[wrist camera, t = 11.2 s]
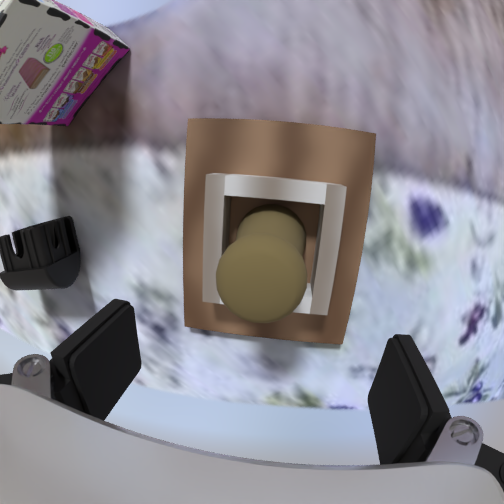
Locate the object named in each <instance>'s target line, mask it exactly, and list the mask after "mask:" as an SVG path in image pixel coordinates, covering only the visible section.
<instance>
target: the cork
mask: <svg viewBox="0 0 504 504" xmlns="http://www.w3.org/2000/svg"><path fill="white" fill-rule="evenodd" d="M305 246H306V231H305V228H304V225H303V222H302V221H301V220H300V218H299V217H298V216H297V214H296V213H294V212H293V211H291V210H290V209H289V208H287V207H284V206H281V205H278V204H264V205H261V206H258V207H255V208H254V209H252V210H251V211H250V212H248V213H247V214H246V215H245V216H244V218H243V219H242V221H241V222H240V224H239V228H238V231H237V235H236V241H235V242H234V243H232V244H231V245H229V247H228V248H227V249H226V251H225V252H224V254H223V255H222V256H221V258H220V259H219V263H218V266H217V270H216V286H217V291H218V294H219V296H220V298H221V301H222V302H223V303H224V305H225V306H226V307H227V308H228V309H229V311H230V312H232V313H233V314H235V315H236V316H238V317H239V318H241V319H243V320H247V321H250V322H253V323H271V322H274V321H278V320H281V319H283V318H285V317H286V316H288V315H289V314H291V313H292V312H293V311H294V310H295V309H296V308H297V306H298V305H299V304H300V303H301V301H302V299H303V296H304V294H305V291H306V289H307V270H306V267H305V263H304V260H303V257H302V256H303V253H304V249H305Z"/></svg>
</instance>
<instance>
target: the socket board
mask: <svg viewBox="0 0 504 504" xmlns="http://www.w3.org/2000/svg"><path fill="white" fill-rule="evenodd" d="M375 140H376V134H375V133H369V132H363V131H357V130H351V129H344V128H337V127H330V126H322V125H313V124H304V123H294V122H282V121H268V120H250V119H208V118H205V119H188V127H187V142H186V160H185V181H184V215H183V287H184V321H185V326H186V327H192V328H198V329H204V330H211V331H217V332H224V333H232V334H239V335H247V336H255V337H264V338H273V339H282V340H292V341H303V342H316V343H329V344H342V343H343V340H344V336H345V332H346V327H347V323H348V319H349V315H350V310H351V306H352V301H353V297H354V292H355V287H356V282H357V277H358V272H359V266H360V261H361V255H362V249H363V243H364V237H365V231H366V224H367V217H368V210H369V202H370V194H371V185H372V175H373V165H374V154H375ZM264 204H278V205H281V206H284V207H287V208H289V209H290V210H291V211H293V212H294V213H296V214H297V216H298V217H299V218H300V220H301V221H302V222H303V225H304V228H305V231H306V246H305V249H304V253H303V256H302V257H303V260H304V263H305V267H306V270H307V289H306V291H305V294H304V296H303V299H302V301H301V303H300V304H299V305H298V306H297V308H296V309H295V310H294V311H293V312H292V313H291V314H289V315H288V316H286V317H285V318H283V319H281V320H278V321H274V322H271V323H253V322H250V321H247V320H243V319H241V318H239V317H238V316H236V315H235V314H233V313H232V312H230V311H229V309H228V308H227V307H226V306H225V305H224V303H223V302H222V301H221V298H220V296H219V294H218V291H217V286H216V270H217V266H218V263H219V259H220V258H221V256H222V255H223V254H224V252H225V251H226V249H227V248H228V247H229V245H231V244H232V243H234V242H235V241H236V235H237V231H238V228H239V224H240V222H241V221H242V219H243V218H244V216H245V215H246V214H247V213H248V212H250V211H251V210H252V209H254V208H255V207H258V206H261V205H264Z"/></svg>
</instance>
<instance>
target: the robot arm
mask: <svg viewBox="0 0 504 504" xmlns="http://www.w3.org/2000/svg"><path fill="white" fill-rule="evenodd" d="M51 356H52V359H51V360H50V361H49V360H48V359H47V358H46V357H45V356H43V355H39V354H32V355H27V356H25V357H22V358H21V359H20V360H18V361H17V362H16V364H15V366H14V368H13V373H10V374H3V375H0V504H504V453H502V452H499V451H498V450H495V449H493V448H491V447H489V446H487V445H485V444H483V443H482V441H483V431H482V428H481V427H480V425H479V424H478V423H477V422H476V421H474V420H473V419H471V418H469V417H465V416H457V417H453V418H452V417H451V415H450V413H449V408H448V406H447V404H446V402H445V400H444V398H443V396H442V394H441V392H440V390H439V388H438V386H437V384H436V382H435V380H434V378H433V376H432V374H431V372H430V370H429V368H428V366H427V365H426V363H425V361H424V359H423V357H422V355H421V353H420V352H419V350H418V348H417V346H416V344H415V343H414V341H413V339H412V337H411V336H410V335H401V334H395V335H394V336H393V338H389V339H388V341H387V344H386V347H385V350H384V353H383V356H382V359H381V362H380V365H379V368H378V370H377V373H376V376H375V378H374V381H373V384H372V386H371V389H370V391H369V394H368V405H369V410H370V414H371V419H372V424H373V429H374V434H375V438H376V443H377V449H378V454H379V460H380V465H347V466H346V465H341V466H340V465H338V466H336V465H306V464H292V463H280V462H271V461H261V460H254V459H247V458H241V457H235V456H228V455H223V454H217V453H213V452H208V451H203V450H199V449H194V448H190V447H186V446H182V445H178V444H174V443H170V442H166V441H163V440H160V439H156V438H153V437H149V436H146V435H143V434H140V433H137V432H134V431H131V430H128V429H125V428H122V427H119V426H117V425H114V424H111V423H109V422H105V421H104V420H105V419H106V417H107V416H108V414H109V413H110V411H111V410H112V409H113V407H114V406H115V404H116V403H117V402H118V400H119V399H120V397H121V396H122V394H123V393H124V392H125V390H126V389H127V388H128V386H129V385H130V383H131V382H132V381H133V379H134V378H135V376H136V375H137V374H138V372H139V371H140V369H141V357H140V350H139V344H138V337H137V329H136V321H135V313H134V308H133V306H131V305H130V303H129V302H128V301H124V300H119V299H114V300H112V301H111V302H110V303H109V304H107V305H106V306H105V307H104V308H102V309H101V310H100V311H99V312H98V313H96V314H95V315H94V316H93V317H92V318H90V319H89V320H88V321H87V322H86V323H84V324H83V325H82V326H81V327H80V328H79V329H77V330H76V331H75V332H74V333H73V334H71V335H70V336H69V337H68V338H67V339H66V340H65V341H63V342H62V343H61V344H60V345H59V346H58V347H56V348H55V349H54V350H53V351H52V352H51Z"/></svg>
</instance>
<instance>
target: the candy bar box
mask: <svg viewBox="0 0 504 504" xmlns="http://www.w3.org/2000/svg"><path fill="white" fill-rule="evenodd" d="M129 50H130V48H129V47H128V46H127V45H126V44H125V43H124V42H123V41H122V40H121V39H119V38H118V37H117V36H116V35H115V34H114V33H113V32H112V31H111V30H110V29H108V28H107V27H105V26H103V25H101V24H100V23H98V22H96V21H94V20H92V19H90V18H88V17H87V16H85V15H83V14H81V13H79V12H77V11H75V10H73V9H71V8H69V7H67V6H65V5H63V4H61V3H59V2H57V1H55V0H0V124H39V125H57V126H68V125H69V124H70V123H71V121H72V120H73V118H74V117H75V116H76V114H77V113H78V111H79V110H80V109H81V107H82V106H83V104H84V103H85V102H86V100H87V99H88V98H89V97H90V95H91V94H92V93H93V91H94V90H95V89H96V87H97V86H98V85H99V84H100V82H101V81H102V80H103V79H104V78H105V76H106V75H107V74H108V73H109V72H110V71H111V69H112V68H113V67H114V66H115V65H116V64H117V63H118V62H119V60H120V59H121V58H122V57H123V56H124V55H125V54H126V53H127V52H128V51H129Z"/></svg>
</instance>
